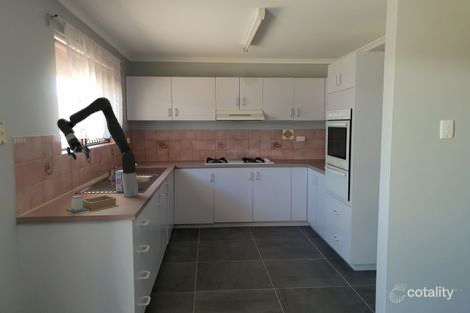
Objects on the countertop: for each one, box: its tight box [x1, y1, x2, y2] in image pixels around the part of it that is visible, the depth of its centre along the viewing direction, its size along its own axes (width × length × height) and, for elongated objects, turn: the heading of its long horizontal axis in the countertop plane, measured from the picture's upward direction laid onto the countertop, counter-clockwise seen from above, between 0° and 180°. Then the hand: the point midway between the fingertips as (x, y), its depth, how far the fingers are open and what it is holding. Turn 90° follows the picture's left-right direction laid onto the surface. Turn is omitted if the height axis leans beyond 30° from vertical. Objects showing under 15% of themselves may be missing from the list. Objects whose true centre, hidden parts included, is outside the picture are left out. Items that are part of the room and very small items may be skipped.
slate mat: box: [66, 207, 90, 214], centre depth 208 cm, size 9×12×1 cm
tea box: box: [70, 195, 83, 210], centre depth 208 cm, size 5×5×8 cm
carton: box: [82, 194, 120, 212], centre depth 219 cm, size 17×22×4 cm
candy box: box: [114, 169, 124, 193], centre depth 266 cm, size 14×6×16 cm, turn 164°
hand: (82, 158), depth 226 cm, fingers open, 8 cm apart
